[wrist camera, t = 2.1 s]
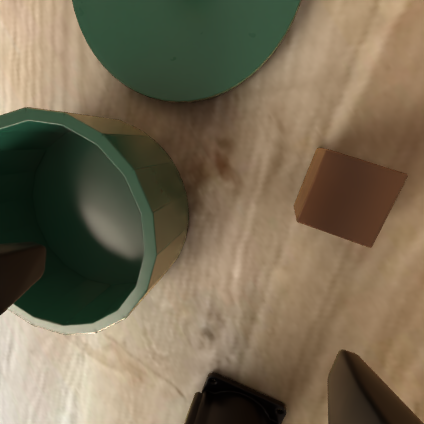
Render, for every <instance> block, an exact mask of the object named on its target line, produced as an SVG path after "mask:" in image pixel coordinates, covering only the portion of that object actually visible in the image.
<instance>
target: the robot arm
mask: <svg viewBox="0 0 424 424" xmlns="http://www.w3.org/2000/svg"><path fill="white" fill-rule="evenodd" d="M45 263H46V247H45V246H44V245H41V244H38V243H35V242H21V243H6V244H0V315H1V314H2V313H4V312H5V311H6V310H7V309H8V308H9V307H10V306H11V305H12V304H13V303H14V302H15V301H17V300H18V299H19V298H20V297H21V296H22V295H23V294H24V293H25V292H26V291H27V290H28V289H29V288H30V287H31V286H32V285H33V284H35V283H36V282H37V281H38V280H39V279H40V278H41V277H42V275H43V273H44V271H45ZM212 379H215V380H212ZM278 409H281V410H278ZM285 415H286V406H285V404H284V403H282V402H280V401H278V400H275V399H273V398H271V397H269V396H266V395H264V394H262V393H260V392H257V391H255V390H253V389H251V388H248V387H246V386H244V385H242V384H239V383H237V382H235V381H233V380H230V379H228V378H226V377H224V376H222V375H219V374H217V373H214V372H212V373H209V375H208V377H207V380H206V382H205V385H204V388H203V390H202V393H200V392H197V393H195V395H194V398H193V401H192V403H191V406H190V409H189V411H188V414H187V417H186V420H185V423H184V424H281V423H282V421H283V419H284V417H285ZM328 423H329V424H424V423H423V422H422V421H421V420H420V419H419V418H418V417H417V416H416V415H415V414H414V413H413V412H412V411H411V410H410V409H409V408H408V407H407V406H406V405H405V404H404V403H403V402H402V401H401V399H400V398H399V397H398V396H397V395H396V394H395V393H394V392H393V391H392V390H391V389H390V388H389V387H388V386H387V385H386V384H385V383H384V382H383V381H382V380H381V379H380V378H379V377H378V375H377V374H376V373H375V372H374V371H373V370H372V369H371V368H370V367H369V366H368V365H367V364H366V363H365V362H364V361H363V360H362V359H361V358H360V357H359V356H358V355H357V354H355V353H352V352H349V351H346V350H340V351H339V352H338V354H337V356H336V358H335V361H334V363H333V365H332V368H331V370H330V372H329V375H328Z"/></svg>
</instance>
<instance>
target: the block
mask: <svg viewBox="0 0 424 424" xmlns="http://www.w3.org/2000/svg"><path fill="white" fill-rule="evenodd" d="M407 177H408V175H407V174H405V173H402V172H399V171H395V170H392V169H389V168H386V167H383V166H380V165H377V164H373V163H370V162H367V161H364V160H361V159H358V158H354V157H351V156H348V155H345V154H342V153H339V152H335V151H332V150H329V149H324V148H317V149H316V152H315V154H314V157H313V159H312V162H311V164H310V167H309V169H308V171H307V174H306V176H305V179H304V181H303V184H302V186H301V189H300V191H299V194H298V196H297V199H296V201H295V204H294V210H295V215H296V220H297V222H299V223H302V224H305V225H307V226H310V227H313V228H316V229H319V230H322V231H324V232H327V233H330V234H333V235H336V236H338V237H341V238H344V239H347V240H350V241H352V242H355V243H358V244H361V245H364V246H366V247H369V248H371V247H372V246H373V244H374V242H375V240H376V238H377V236H378V234H379V232H380V230H381V228H382V226H383V224H384V222H385V220H386V218H387V216H388V214H389V212H390V210H391V208H392V206H393V204H394V202H395V200H396V198H397V196H398V194H399V192H400V191H401V189H402V187H403V185H404V183H405V181H406V179H407Z"/></svg>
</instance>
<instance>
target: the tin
mask: <svg viewBox="0 0 424 424" xmlns="http://www.w3.org/2000/svg"><path fill="white" fill-rule="evenodd" d="M188 220H189V212H188V201H187V195H186V191H185V188H184V185H183V181H182V179H181V177H180V174H179V172H178V170H177V168H176V167H175V165H174V163H173V162H172V160H171V158H170V157H169V156H168V154H167V153H166V152H165V151H164V149H163V148H162V147H161V146H160V145H159V144H158V143H157V142H156V141H155V140H154V139H152V138H151V137H150V136H149V135H147V134H146V133H145V132H143V131H141V130H140V129H138V128H136V127H134V126H132V125H130V124H127V123H125V122H123V121H121V120H118V119H111V118H104V117H96V116H89V115H82V114H75V113H68V112H60V111H52V110H45V109H37V108H30V107H27V108H26V107H25V108H22V109H19V110H16V111H12V112H9V113H6V114H3V115H0V244H6V243H21V242H35V243H38V244H41V245H44V246H45V247H46V263H45V271H44V273H43V275H42V277H41V278H40V279H39V280H38V281H37V282H36V283H35V284H33V285H32V286H31V287H30V288H29V289H28V290H27V291H26V292H25V293H24V294H23V295H22V296H21V297H20V298H19V299H18V300H17V301H15V302H14V303H13V304H12V305H11V306H10V307H9V308H8V310H10V311H11V312H13V313H14V314H16V315H17V316H19V317H20V318H22V319H23V320H25V321H27V322H28V323H30V324H31V325H34V326H37V327H40V328H43V329H47V330H50V331H54V332H57V333H61V334H65V335H72V334H88V333H97V332H100V331H102V330H104V329H106V328H108V327H110V326H112V325H113V324H115V323H117V322H119V321H121V320H123V319H125V318H126V317H127V316H128V315H129V314H130V313H131V312H132V311H133V310H134V309H135V307H136V306H137V305H138V304H139V303H140V302H141V301H142V299H143V298H144V297H145V296H146V295H147V294H148V293H149V292H150V290H151V289H152V288H153V287H154V286H155V285H156V284H157V282H158V281H159V280H160V279H161V278H162V277H163V275H164V274H165V273H166V272H167V270H168V269H169V268H170V267H171V266H172V264H173V263H174V262H175V261H176V259H177V258H178V256H179V254H180V252H181V250H182V247H183V245H184V242H185V239H186V234H187V230H188Z"/></svg>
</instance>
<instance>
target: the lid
mask: <svg viewBox="0 0 424 424" xmlns="http://www.w3.org/2000/svg"><path fill="white" fill-rule="evenodd" d="M72 2H73V6H74V11H75V14H76V17H77V20H78V23H79V26H80V28H81V31H82V33H83V35H84V37H85V39H86V41H87V43H88V45H89V46H90V48H91V50H92V51H93V53H94V55H95V56H96V57H97V59H98V60H99V61H100V62H101V64H102V65H103V66H104V67H105V68H106V69H107V70H108V71H109V72H110V73H111V74H112V75H113V76H114V77H115V78H116V79H118V80H119V81H120V82H121V83H123V84H124V85H125V86H127V87H129V88H131V89H132V90H134V91H136V92H138V93H140V94H143V95H145V96H148V97H150V98H154V99H158V100H162V101H167V102H178V103H181V102H195V101H200V100H205V99H209V98H212V97H215V96H217V95H220V94H223V93H225V92H227V91H229V90H231V89H232V88H234V87H236V86H238V85H239V84H241V83H242V82H243V81H245V80H246V79H248V78H249V77H250V76H252V75H253V74H254V73H255V72H256V71H257V70H258V69H259V68H260V67H262V66H263V64H264V63H265V62H266V61H267V60H268V59H269V58H270V57H271V55H272V54H273V53H274V52H275V50H276V49H277V47H278V46H279V45H280V43H281V42H282V40H283V39H284V37H285V36H286V34H287V32H288V30H289V28H290V26H291V24H292V23H293V21H294V18H295V16H296V13H297V11H298V8H299V6H300V3H301V0H72Z"/></svg>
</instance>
